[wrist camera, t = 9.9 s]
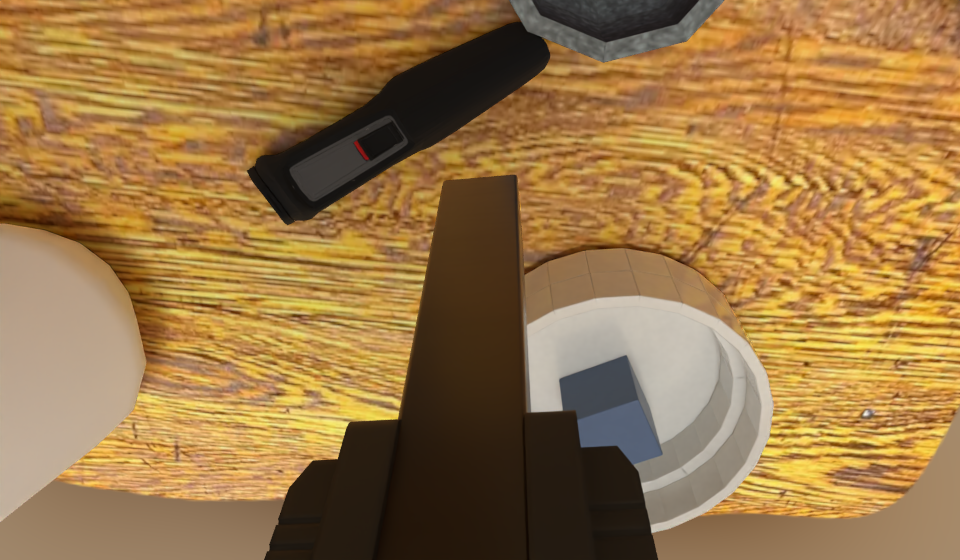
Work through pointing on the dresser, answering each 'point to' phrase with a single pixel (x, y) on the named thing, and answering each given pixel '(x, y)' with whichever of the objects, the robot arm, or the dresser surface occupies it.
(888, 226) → the dresser surface
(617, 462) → the robot arm
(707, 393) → the bowl
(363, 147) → the electric trimmer
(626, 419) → the block
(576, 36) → the mortar and pestle
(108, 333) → the cup
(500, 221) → the stick
